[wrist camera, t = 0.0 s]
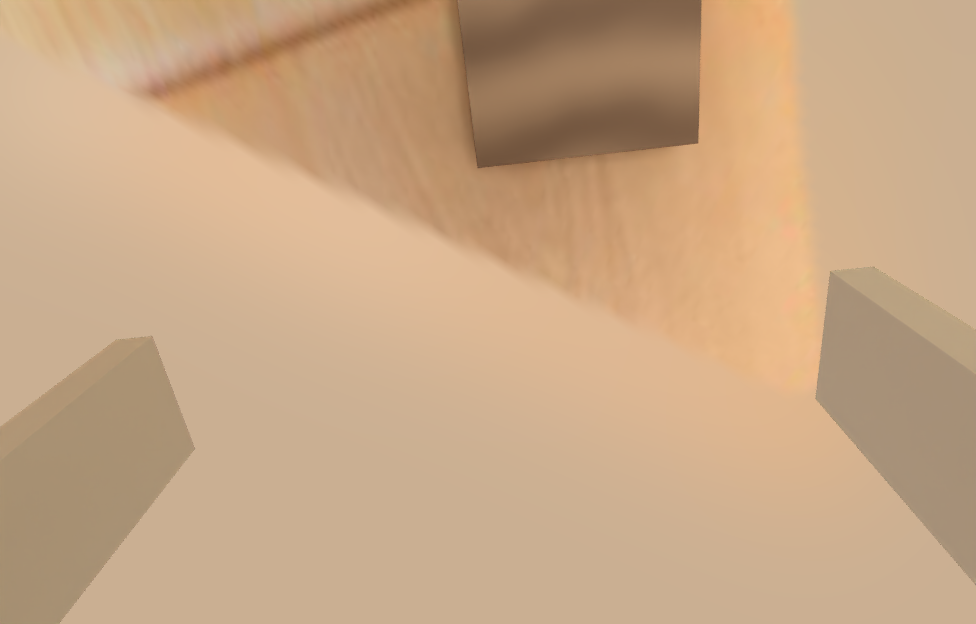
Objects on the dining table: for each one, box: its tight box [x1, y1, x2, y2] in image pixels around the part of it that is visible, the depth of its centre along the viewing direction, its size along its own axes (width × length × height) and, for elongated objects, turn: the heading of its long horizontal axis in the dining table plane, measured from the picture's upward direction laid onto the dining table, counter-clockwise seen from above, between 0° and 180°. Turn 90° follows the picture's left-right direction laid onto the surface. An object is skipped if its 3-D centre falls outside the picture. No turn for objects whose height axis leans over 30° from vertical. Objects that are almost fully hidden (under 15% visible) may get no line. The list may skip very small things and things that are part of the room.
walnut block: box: [457, 0, 701, 168], centre depth 32 cm, size 15×12×5 cm
